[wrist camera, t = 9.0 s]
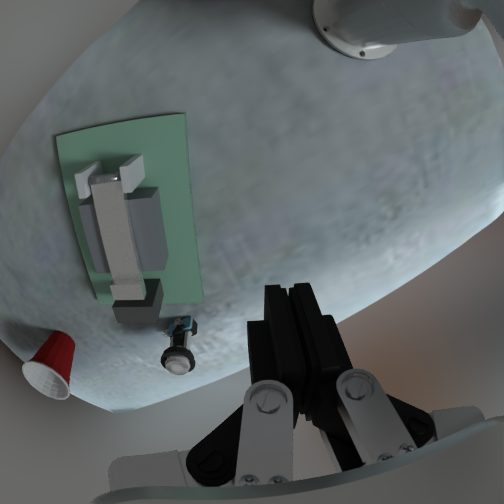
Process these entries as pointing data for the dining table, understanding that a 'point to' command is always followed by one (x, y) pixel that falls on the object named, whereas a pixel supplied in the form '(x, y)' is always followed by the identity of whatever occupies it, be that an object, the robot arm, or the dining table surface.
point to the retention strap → (117, 236)
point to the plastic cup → (52, 366)
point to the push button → (179, 346)
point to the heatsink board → (157, 174)
